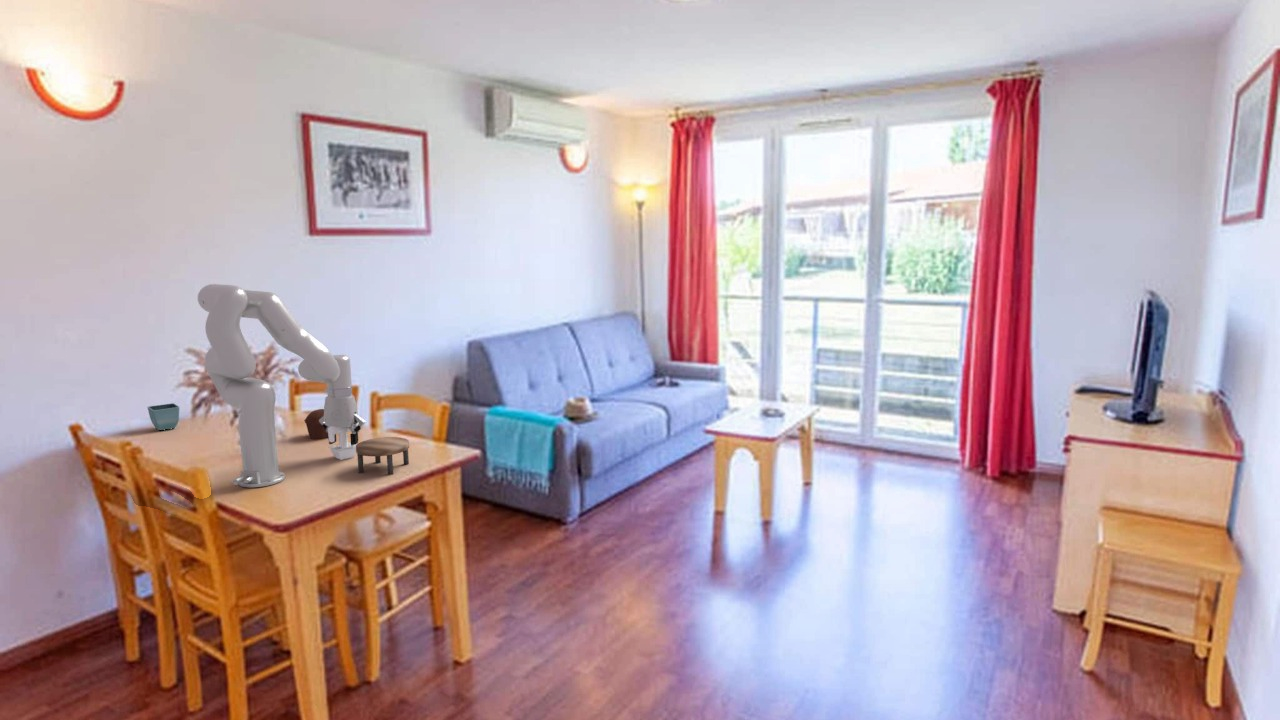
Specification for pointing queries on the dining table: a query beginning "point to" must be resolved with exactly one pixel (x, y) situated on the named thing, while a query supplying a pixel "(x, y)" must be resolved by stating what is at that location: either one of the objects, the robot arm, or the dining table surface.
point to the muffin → (316, 425)
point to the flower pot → (164, 416)
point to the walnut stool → (382, 450)
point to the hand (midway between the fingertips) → (343, 443)
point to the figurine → (341, 443)
